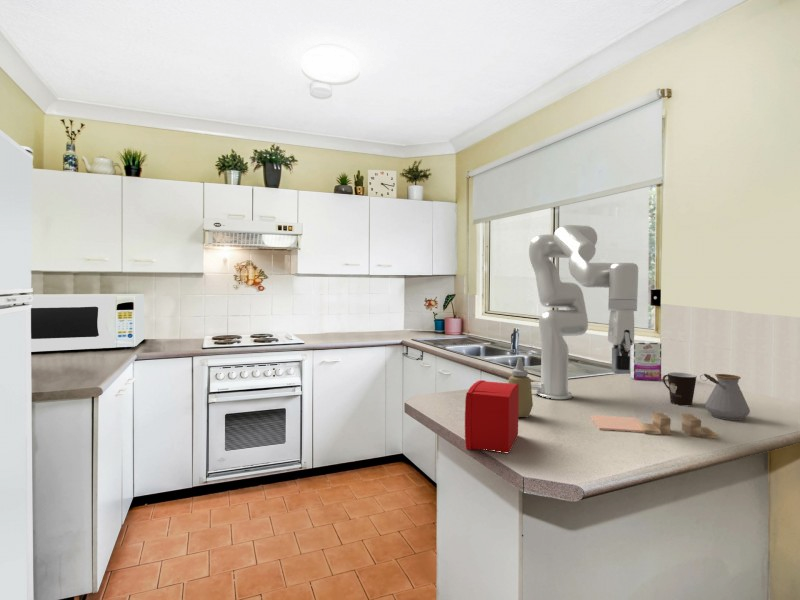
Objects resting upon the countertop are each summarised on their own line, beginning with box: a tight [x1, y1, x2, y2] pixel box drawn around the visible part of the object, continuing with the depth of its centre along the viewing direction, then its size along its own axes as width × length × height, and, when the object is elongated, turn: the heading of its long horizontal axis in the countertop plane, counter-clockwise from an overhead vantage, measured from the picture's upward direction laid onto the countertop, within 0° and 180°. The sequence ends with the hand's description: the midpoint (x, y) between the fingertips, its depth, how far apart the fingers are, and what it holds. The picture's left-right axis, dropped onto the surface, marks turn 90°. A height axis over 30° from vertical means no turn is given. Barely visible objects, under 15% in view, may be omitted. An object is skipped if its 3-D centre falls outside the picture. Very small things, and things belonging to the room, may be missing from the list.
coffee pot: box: [699, 373, 751, 421], centre depth 141 cm, size 21×12×15 cm, turn 123°
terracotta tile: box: [589, 414, 644, 433], centre depth 135 cm, size 13×13×1 cm
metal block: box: [611, 347, 631, 375], centre depth 134 cm, size 4×4×7 cm
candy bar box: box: [630, 341, 662, 382], centre depth 201 cm, size 11×5×16 cm, turn 81°
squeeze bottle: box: [508, 357, 534, 418], centre depth 143 cm, size 8×8×18 cm
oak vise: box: [637, 411, 719, 440], centre depth 128 cm, size 18×7×4 cm, turn 78°
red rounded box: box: [464, 380, 519, 453], centre depth 119 cm, size 16×11×15 cm
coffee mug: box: [662, 372, 697, 406], centre depth 161 cm, size 12×9×10 cm
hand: (620, 367), depth 134 cm, fingers closed on metal block, 4 cm apart
